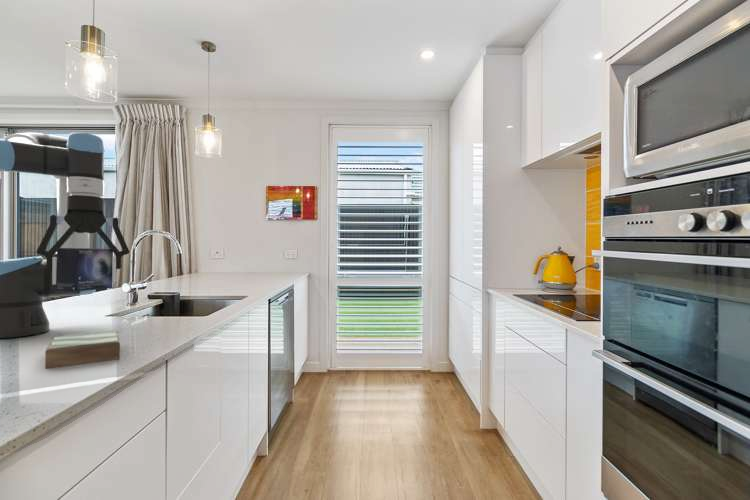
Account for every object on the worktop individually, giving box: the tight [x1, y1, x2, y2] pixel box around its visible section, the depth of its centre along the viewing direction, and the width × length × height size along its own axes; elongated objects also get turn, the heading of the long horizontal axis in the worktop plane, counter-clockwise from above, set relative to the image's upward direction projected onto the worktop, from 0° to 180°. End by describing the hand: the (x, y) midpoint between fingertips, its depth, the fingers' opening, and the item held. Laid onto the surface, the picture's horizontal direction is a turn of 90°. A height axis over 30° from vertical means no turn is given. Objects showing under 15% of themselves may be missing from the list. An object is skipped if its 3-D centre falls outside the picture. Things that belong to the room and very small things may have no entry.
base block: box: [44, 330, 121, 369], centre depth 99 cm, size 16×14×4 cm
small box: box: [55, 247, 114, 291], centre depth 99 cm, size 11×6×10 cm, turn 169°
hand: (85, 283), depth 99 cm, fingers closed on small box, 11 cm apart
